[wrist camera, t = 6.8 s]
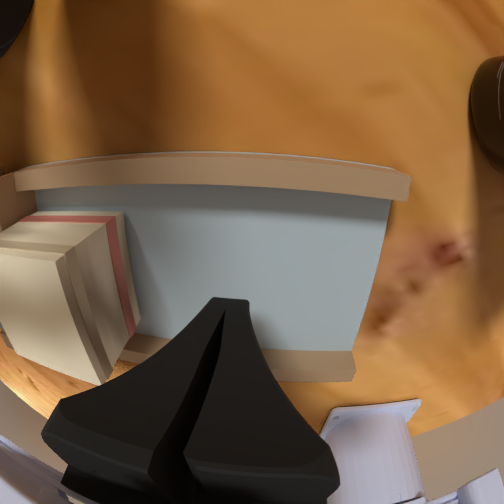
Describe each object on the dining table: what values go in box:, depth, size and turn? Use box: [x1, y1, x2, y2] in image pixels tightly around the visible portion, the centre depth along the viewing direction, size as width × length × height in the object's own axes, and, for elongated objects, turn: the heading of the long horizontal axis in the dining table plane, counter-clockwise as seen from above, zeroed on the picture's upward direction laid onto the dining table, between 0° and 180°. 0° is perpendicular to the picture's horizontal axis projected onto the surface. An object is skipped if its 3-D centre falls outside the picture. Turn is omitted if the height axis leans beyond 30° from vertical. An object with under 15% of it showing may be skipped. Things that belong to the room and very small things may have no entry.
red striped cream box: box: [0, 211, 141, 385], centre depth 11 cm, size 6×6×5 cm
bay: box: [0, 151, 411, 382], centre depth 12 cm, size 11×19×4 cm, turn 88°
